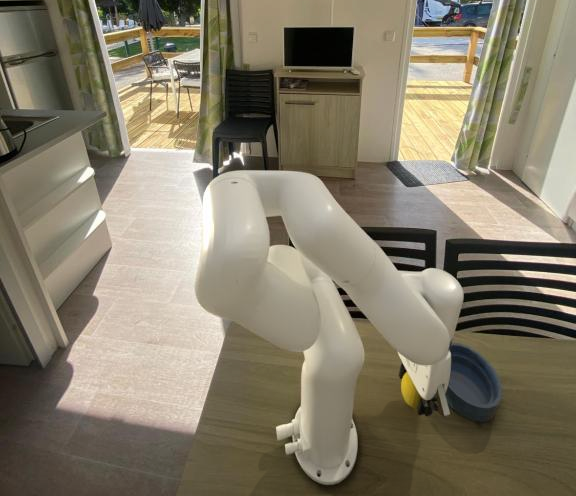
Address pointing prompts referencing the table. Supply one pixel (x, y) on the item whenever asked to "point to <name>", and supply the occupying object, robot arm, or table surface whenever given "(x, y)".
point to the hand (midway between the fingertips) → (414, 392)
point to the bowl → (472, 384)
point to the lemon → (410, 391)
